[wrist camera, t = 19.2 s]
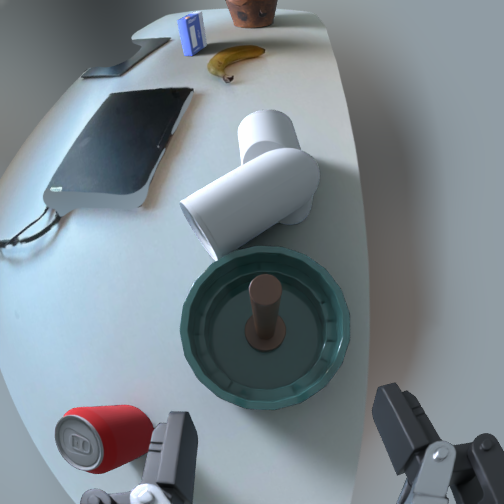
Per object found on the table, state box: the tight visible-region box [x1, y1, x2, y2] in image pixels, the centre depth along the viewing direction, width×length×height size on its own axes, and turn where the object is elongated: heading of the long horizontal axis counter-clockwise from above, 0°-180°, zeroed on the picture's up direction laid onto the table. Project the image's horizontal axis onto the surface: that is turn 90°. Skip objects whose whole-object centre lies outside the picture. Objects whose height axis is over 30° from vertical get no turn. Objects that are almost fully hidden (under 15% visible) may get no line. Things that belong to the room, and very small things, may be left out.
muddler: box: [245, 274, 286, 352], centre depth 25 cm, size 4×4×16 cm
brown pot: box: [225, 0, 277, 28], centre depth 65 cm, size 18×20×18 cm
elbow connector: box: [180, 110, 320, 261], centre depth 36 cm, size 18×10×20 cm
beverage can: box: [55, 405, 154, 474], centre depth 22 cm, size 7×7×12 cm
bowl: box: [180, 246, 350, 410], centre depth 30 cm, size 17×17×6 cm
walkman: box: [177, 12, 207, 56], centre depth 59 cm, size 8×3×12 cm, turn 155°
